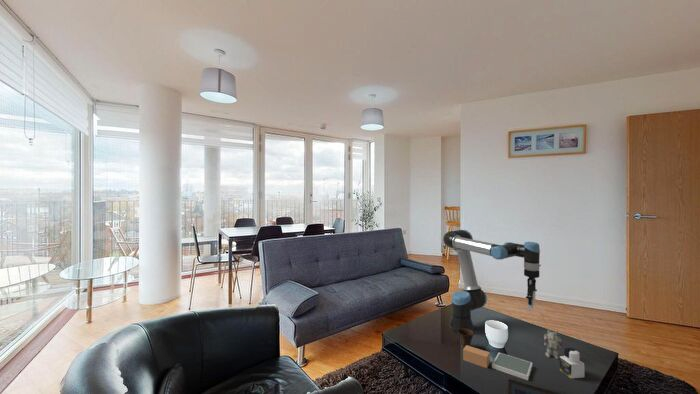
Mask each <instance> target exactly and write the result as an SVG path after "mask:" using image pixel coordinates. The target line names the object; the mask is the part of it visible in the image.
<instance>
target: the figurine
mask: <svg viewBox="0 0 700 394" xmlns="http://www.w3.org/2000/svg"><path fill="white" fill-rule="evenodd" d="M543 339H544V343H543V345H544V346H546V352H545V353H544V354H545V356H546V357H547V358H550V357H551V353H552V352H553V355H552V356H553V358H554V359H556V360H558V359H559V360H560V356H559V353H558V352H559V351H558V348H559V349H561V348H562V346H561V345H562V338H561V336H560V335H558V330H555V331H552V330H550V329H547V332H546V333H544V334H543Z"/></svg>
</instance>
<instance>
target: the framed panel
mask: <svg viewBox="0 0 700 394" xmlns="http://www.w3.org/2000/svg"><path fill="white" fill-rule="evenodd" d="M533 366H534V365H533V362H531V361H528V360H525V359H521V358H519V357H515V356H512V355H508V354H506V353H502V352H497V355H496V357H495V358H494V359H493V362H492V364H491V368H492V369H494V370H497V371H500V372H502V373H505V374H508V375H512V376H514V377H516V378H519V379H523V380H525V381H528V380H529V379H530V375H531V372H532V370H533Z"/></svg>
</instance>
